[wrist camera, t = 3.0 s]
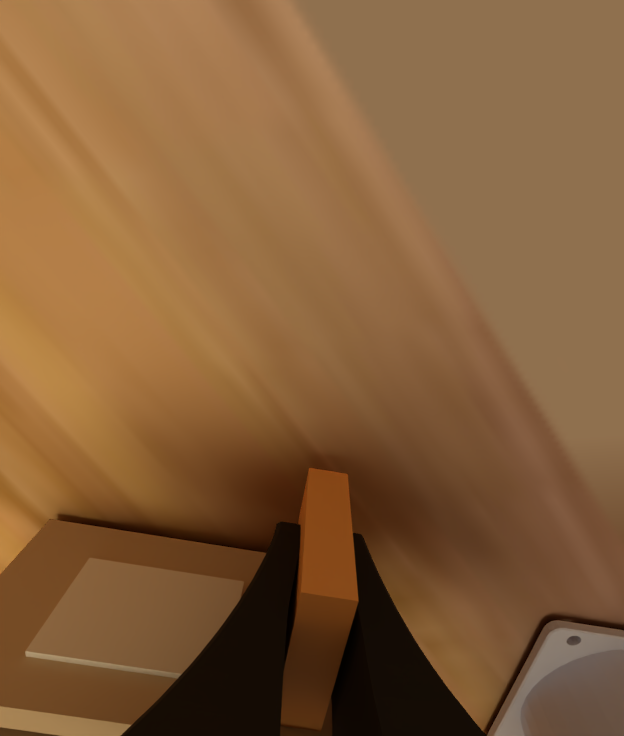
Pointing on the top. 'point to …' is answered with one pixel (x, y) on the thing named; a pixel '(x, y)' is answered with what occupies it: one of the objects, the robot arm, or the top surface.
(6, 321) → the top surface
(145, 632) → the carton flap
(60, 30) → the top surface
